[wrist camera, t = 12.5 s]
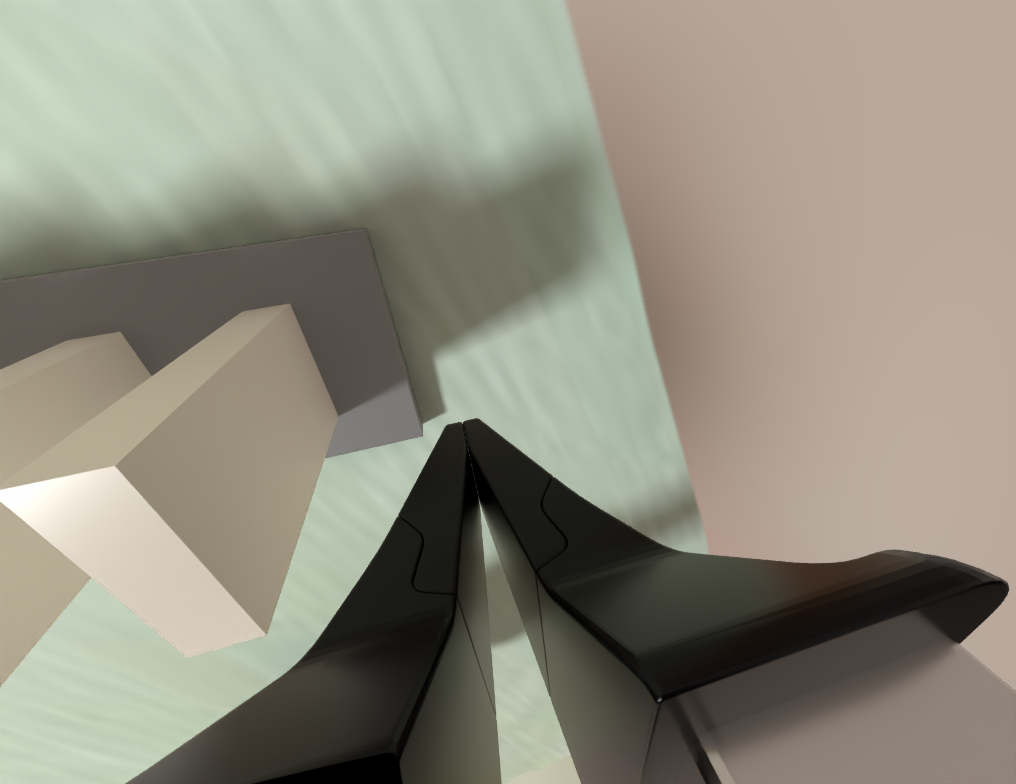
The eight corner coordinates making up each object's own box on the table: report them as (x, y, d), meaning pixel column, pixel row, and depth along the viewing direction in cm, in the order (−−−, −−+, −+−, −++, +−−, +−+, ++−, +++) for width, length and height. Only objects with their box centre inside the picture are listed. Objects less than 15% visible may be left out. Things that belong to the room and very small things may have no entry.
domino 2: (338, 416, 16) (266, 635, 8) (299, 424, 15) (187, 658, 8) (289, 303, 13) (114, 465, 5) (242, 311, 13) (-11, 492, 5)
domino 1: (200, 445, 15) (-27, 718, 7) (157, 454, 15) (-124, 746, 7) (120, 331, 12) (-366, 567, 5) (66, 340, 12) (-538, 604, 4)
